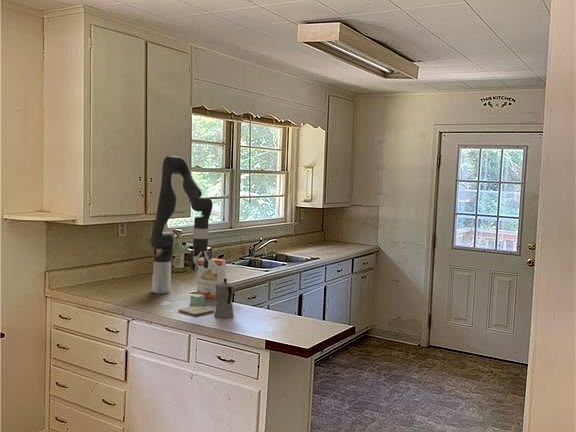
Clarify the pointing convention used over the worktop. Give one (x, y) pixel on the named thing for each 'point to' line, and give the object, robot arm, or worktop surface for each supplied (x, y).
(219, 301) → the coffeepot
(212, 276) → the cracker box
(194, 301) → the sage block
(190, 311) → the walnut board
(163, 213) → the robot arm
